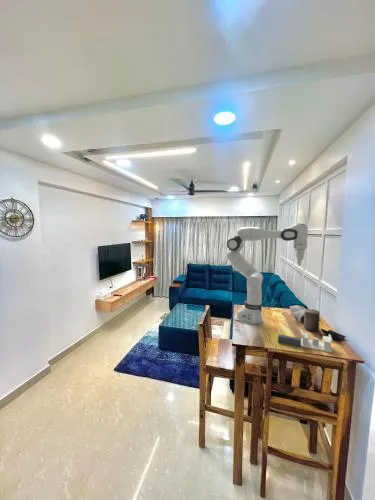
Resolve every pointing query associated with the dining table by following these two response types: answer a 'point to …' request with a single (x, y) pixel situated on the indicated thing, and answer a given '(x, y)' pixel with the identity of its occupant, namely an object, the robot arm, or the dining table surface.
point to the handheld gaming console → (333, 334)
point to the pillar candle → (311, 320)
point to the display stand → (316, 342)
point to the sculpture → (298, 311)
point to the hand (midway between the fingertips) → (299, 264)
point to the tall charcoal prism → (289, 340)
